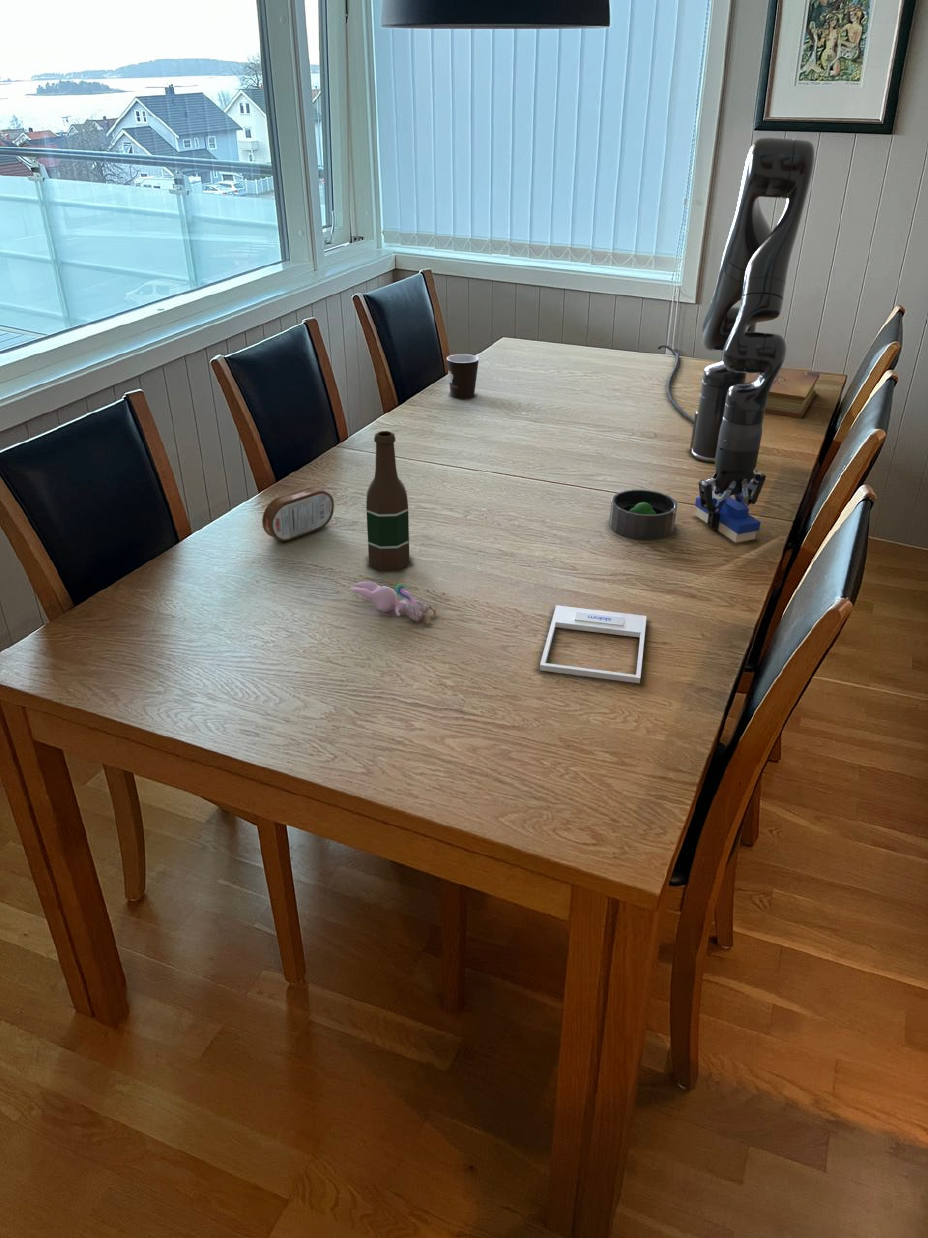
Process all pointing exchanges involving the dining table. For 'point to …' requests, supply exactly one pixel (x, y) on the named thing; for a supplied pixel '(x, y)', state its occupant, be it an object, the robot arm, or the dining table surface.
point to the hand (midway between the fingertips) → (724, 526)
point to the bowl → (643, 515)
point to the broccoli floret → (643, 509)
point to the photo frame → (601, 624)
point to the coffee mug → (462, 375)
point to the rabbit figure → (393, 600)
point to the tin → (298, 513)
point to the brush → (732, 520)
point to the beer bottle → (387, 510)
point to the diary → (789, 392)
